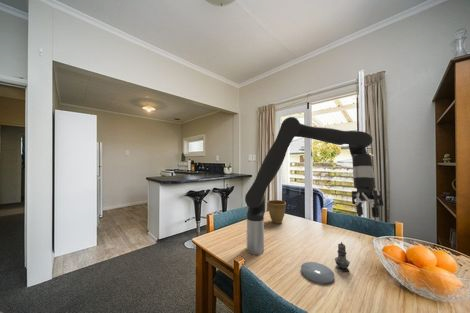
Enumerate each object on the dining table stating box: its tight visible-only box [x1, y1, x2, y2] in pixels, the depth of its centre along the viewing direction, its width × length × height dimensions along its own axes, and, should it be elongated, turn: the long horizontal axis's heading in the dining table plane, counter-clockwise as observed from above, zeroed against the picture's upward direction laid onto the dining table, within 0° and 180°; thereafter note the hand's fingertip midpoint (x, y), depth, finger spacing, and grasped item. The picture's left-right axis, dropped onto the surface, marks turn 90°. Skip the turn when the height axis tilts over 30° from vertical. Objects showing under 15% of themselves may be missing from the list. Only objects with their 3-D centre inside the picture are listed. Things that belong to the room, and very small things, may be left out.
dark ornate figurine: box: [334, 241, 351, 273], centre depth 78 cm, size 6×6×12 cm
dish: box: [300, 261, 335, 285], centre depth 75 cm, size 13×13×1 cm
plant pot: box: [266, 199, 287, 224], centre depth 138 cm, size 15×15×16 cm
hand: (367, 216), depth 72 cm, fingers open, 8 cm apart
